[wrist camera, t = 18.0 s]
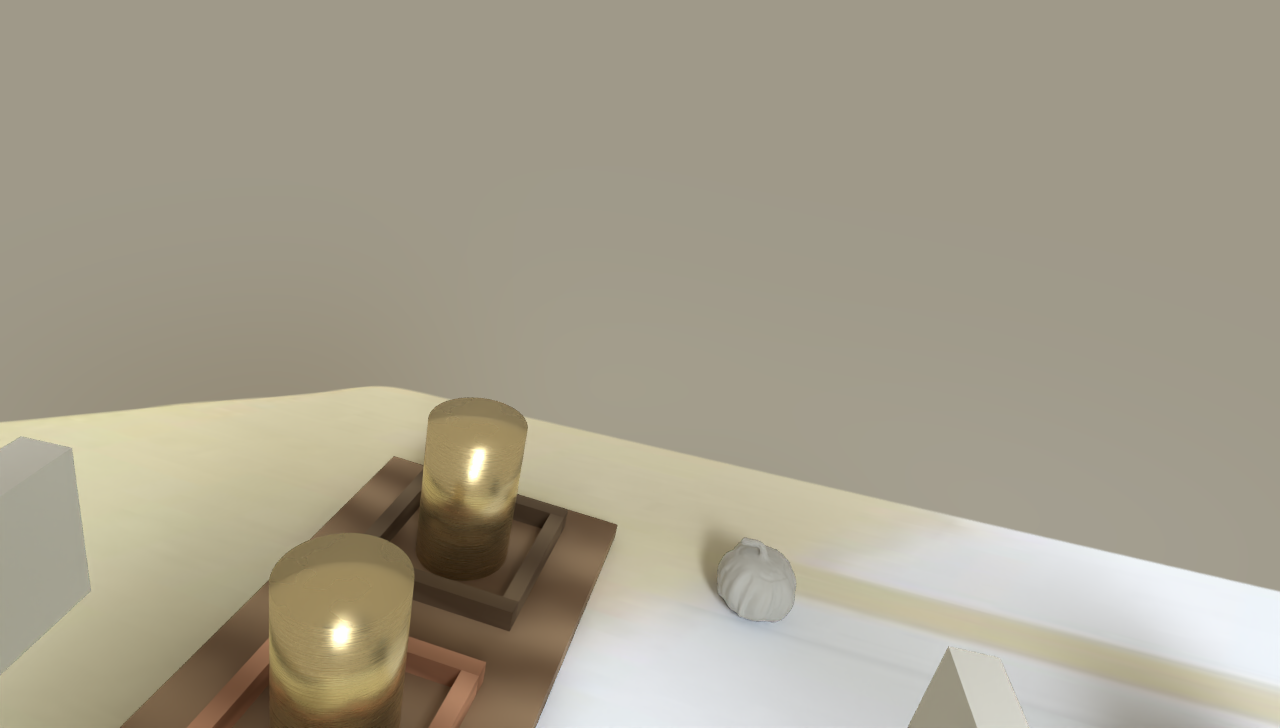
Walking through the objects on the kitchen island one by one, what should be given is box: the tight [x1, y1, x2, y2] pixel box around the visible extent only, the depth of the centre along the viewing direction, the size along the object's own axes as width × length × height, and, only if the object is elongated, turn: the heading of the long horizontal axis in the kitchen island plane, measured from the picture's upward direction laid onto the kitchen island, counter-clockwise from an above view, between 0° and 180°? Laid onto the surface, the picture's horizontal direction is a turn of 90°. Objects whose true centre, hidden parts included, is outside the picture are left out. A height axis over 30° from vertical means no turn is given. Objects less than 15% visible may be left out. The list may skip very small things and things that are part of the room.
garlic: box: [717, 538, 796, 622], centre depth 54 cm, size 6×5×5 cm
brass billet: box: [269, 533, 414, 728], centre depth 37 cm, size 6×6×10 cm
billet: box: [416, 398, 528, 581], centre depth 50 cm, size 6×6×10 cm
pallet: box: [120, 456, 617, 728], centre depth 45 cm, size 30×18×3 cm, turn 167°
